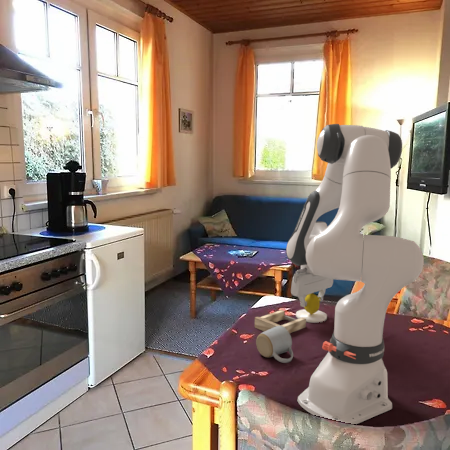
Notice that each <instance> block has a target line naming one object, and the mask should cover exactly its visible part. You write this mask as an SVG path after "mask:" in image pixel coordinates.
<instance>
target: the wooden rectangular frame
mask: <svg viewBox="0 0 450 450" xmlns="http://www.w3.org/2000/svg"><path fill="white" fill-rule="evenodd" d="M282 320H283V321H284V320H286V321H288V322H287V323H286V322H285V323H284V324H281V325H280V324H278V322H280V321H282ZM306 325H307V322H306V318H303V317H302V318H299V319H297V318H294V317H292V316H288V315H285V310H283V309H280V310H277V311H274V312H270V313H268V314H265V315H262V316H255V317H254V328H255V329H257V330H259V331H262V332H264V331H267V330H269V329H271V328H274V327H276V326H283V327H284V328H286V329H287V331H288V332H289V334H290V335H291V333H294V332H297V331H300V330H302V329H305V328H307V327H306Z"/></svg>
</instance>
